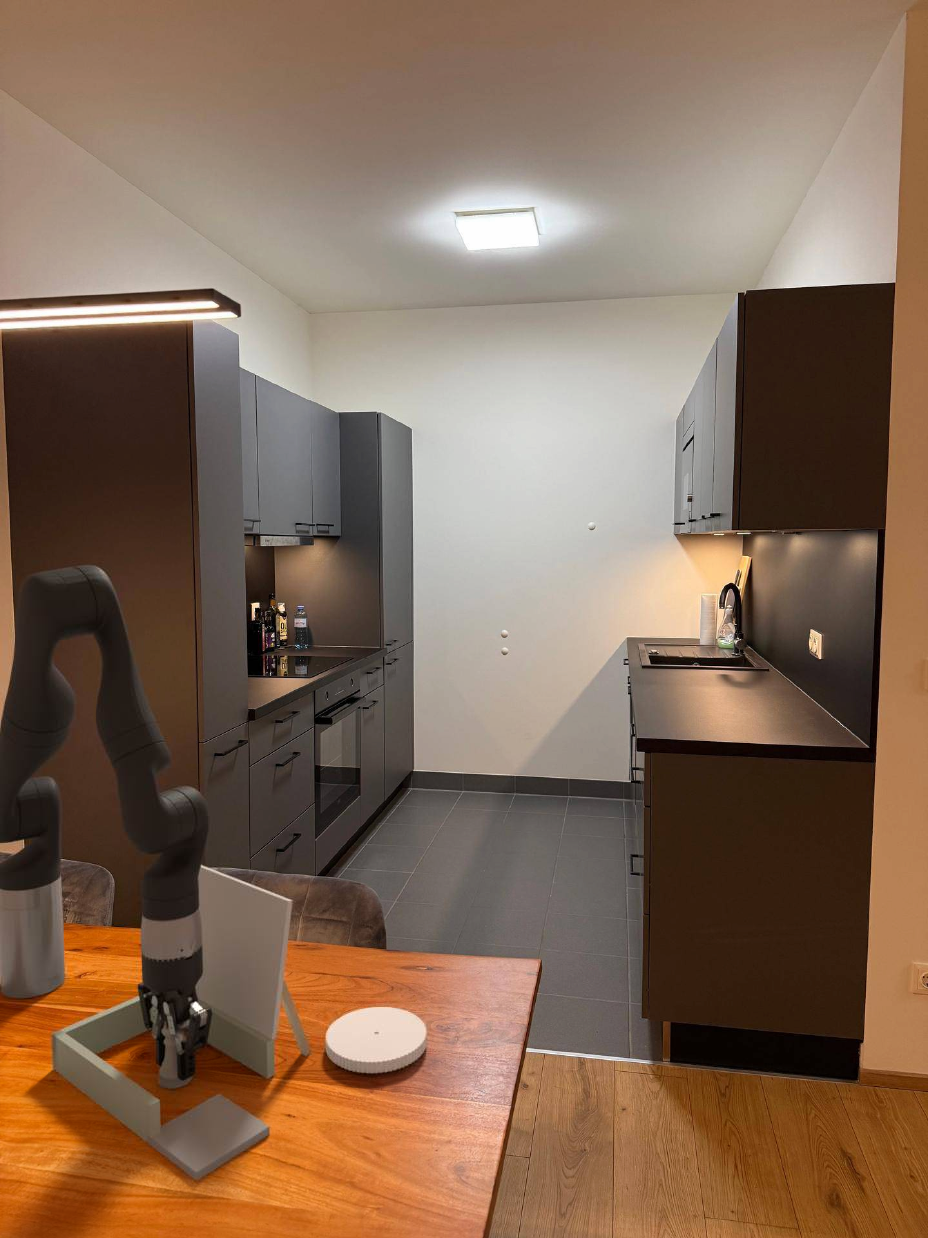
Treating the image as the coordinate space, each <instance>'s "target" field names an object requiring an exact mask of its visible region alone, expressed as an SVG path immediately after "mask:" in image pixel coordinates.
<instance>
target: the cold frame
mask: <svg viewBox="0 0 928 1238" xmlns="http://www.w3.org/2000/svg"><path fill="white" fill-rule="evenodd" d="M198 1004H199V1005H200V1006H201V1007H202V1008H203V1009H205V1008H207V1007H210V1008H211V1010H212V1018H211V1024H210V1029H209V1035H208V1040H207V1044H209V1045H211V1046H212V1047H214V1048H216V1049H217V1050H219V1051H221V1052H222V1053H224V1054H225V1055H227V1056H229V1057H230V1058H232V1059H233V1060H235V1061H237V1062H238V1063H241V1064H242V1065H244V1066H245V1067H246V1068H248V1069H250V1070H252V1071H254V1072H255V1073H257V1074H259V1075H261V1076H262V1077H264V1078H265V1079H268V1080H269V1079H270V1078H271V1077H273V1076H275V1075H276V1069H275V1068H276V1064H275V1063H276V1062H275V1058H276V1057H275V1055H276V1054H275V1053H276V1052H275V1039H270V1038H268V1037H267V1036H265V1035H263V1034H261V1033H259V1032H258V1031H256V1030H254V1029H252V1028H250V1027H248V1026H247V1025H245V1024H243V1023H241V1022H239V1021H238V1020H236V1019H234V1018H232V1017H230V1016H229V1015H227V1014H225V1013H223V1012H221V1011H220V1010H218V1009H216V1008H214V1007H212V1006H210V1005H209V1004H207V1003H205V1002H203V1001H201V1000H200V999H198ZM281 1004H282V1006H283V1009H284V1012H285V1014H286V1017H287V1020H288V1022H289V1025H290V1028H291V1030H292V1033H293V1036H294V1038H295V1041H296V1044H297V1046H298V1048H299V1051H300V1053H301V1054H302V1055H303V1056H305V1057H307V1056H309V1054H310V1053H312V1050H311V1049H312V1048H311V1047H310V1044H309V1041H308V1038H307V1037H306V1036H307V1035H306V1033H305V1031H304V1028H303V1025H302V1022H301V1020H300V1017H299V1015H298V1012H297V1009H296V1007H295V1004H294V1002H293V998H292V996H291V994H290V991H289V988H288V985H287V983H286V979H283V987H282V996H281ZM151 1013H152V1008H151V1009H150V1015H151ZM188 1020H189V1019H188ZM188 1020H187V1021H188ZM187 1021H185V1024H186V1023H188V1022H187ZM150 1030H152V1029H151V1028H150V1029H146V1028H145V1025H144V1020H143V1015H142V1009H141V1004H140V999H139V995H138V996H135V997H134V998H131V999H128V1000H126V1001H124V1002H121V1003H120V1004H117V1005H115V1006H112V1007H111V1008H108V1009H105V1010H103V1011H101V1012H98V1013H95V1014H94V1015H92V1016H91V1015H90V1016H89V1017H87V1018H84V1019H82V1020H79V1021H77V1022H75V1023H73V1024H71V1025H68V1026H66V1027H64V1028H63V1027H62V1028H61V1029H58V1030H57V1031H54V1032H52V1033H51V1051H52V1052H51V1055H52V1070H53V1069H54V1070H53V1071H55V1070H56V1071H57V1072H58V1073H59V1074H58V1073H57V1072H56V1071H55V1072H56V1073H57V1074H58V1075H60V1074H61V1075H62V1076H63V1077H62V1076H61V1075H60V1076H61V1077H62V1078H64V1079H65V1080H66V1079H67V1080H68V1081H67V1080H66V1081H67V1082H69V1083H70V1082H71V1083H70V1084H71V1085H73V1086H74V1087H75V1086H76V1087H77V1089H78V1090H79V1091H80V1092H82V1093H83V1094H84V1093H85V1094H86V1096H87V1095H88V1096H87V1097H88V1098H89V1097H90V1098H89V1099H90V1100H92V1099H93V1100H94V1101H93V1100H92V1101H93V1102H94V1103H96V1104H97V1105H98V1106H100V1107H101V1108H102V1109H103V1110H104V1111H106V1112H107V1113H109V1114H110V1115H112V1117H114V1118H115V1119H116V1120H118V1121H119V1122H121V1124H123V1125H124V1126H126V1128H128V1129H129V1130H130V1131H132V1132H133V1133H134V1134H136V1135H137V1136H138V1137H139V1138H140V1139H142V1140H143V1141H144V1142H146V1143H147V1141H148V1140H147V1135H148V1136H149V1137H151V1138H152V1137H154V1136H156V1135H158V1134H159V1133H161V1126H162V1125H161V1100H160V1099H158V1098H157V1097H155V1096H154V1095H153V1094H152V1093H150V1092H148V1091H147V1090H145V1088H143V1087H142V1086H140V1084H138V1083H136V1082H135V1081H133V1079H132V1080H131V1079H130V1078H129V1077H127V1076H126V1075H125V1074H123V1073H122V1072H121V1071H120V1070H118V1069H116V1068H115V1067H114V1066H112V1065H111V1064H109V1063H108V1062H106V1061H105V1060H104V1059H102V1058H101V1057H99V1056H98V1054H100V1053H99V1052H101V1053H102V1052H105V1051H107V1050H109V1049H112V1048H113V1047H115V1045H116V1046H117V1044H118V1045H120V1044H122V1043H124V1042H126V1041H128V1040H131V1039H133V1038H134V1037H137V1036H139V1035H141V1034H143V1033H145V1032H147V1031H150ZM132 1037H133V1038H132ZM123 1041H124V1042H123ZM121 1042H122V1043H121ZM112 1046H113V1047H112ZM108 1048H109V1049H108ZM104 1050H105V1051H104ZM97 1053H98V1054H97ZM95 1054H96V1055H95ZM76 1087H75V1088H76ZM85 1094H84V1095H85Z"/></svg>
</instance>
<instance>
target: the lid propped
mask: <svg viewBox="0 0 928 1238" xmlns="http://www.w3.org/2000/svg"><path fill="white" fill-rule="evenodd" d="M198 882H199V908H200V915H201V921H202V947H203V974H202V976H201V978H200V979H199V981H198V982H197V984H196V986H195V988H196V993H197V996H198V999H200V1000H201V1001H203V1002H205V1003H207V1004H209V1005H210V1006H212V1007H214V1008H216V1009H218V1010H220V1011H221V1012H223V1013H225V1014H227V1015H229V1016H230V1017H232V1018H234V1019H236V1020H238V1021H239V1022H241V1023H243V1024H245V1025H247V1026H248V1027H250V1028H252V1029H254V1030H256V1031H258V1032H259V1033H261V1034H263V1035H265V1036H267V1037H268V1038H270V1039H274V1040H275V1039H277V1038H278V1037H277V1036H278V1029H279V1020H280V1013H281V1012H280V1011H281V1004H282V1002H281V996H282V987H283V979H284V978H285V977H284V975H285V971H286V969H285V968H286V960H287V959H286V958H287V954H288V944H289V943H288V942H289V934H290V929H291V928H290V926H291V919H292V918H291V916H292V911H293V910H292V909H293V899H290V898H287V897H285V896H282V895H280V894H277V893H275V892H272V891H269V890H268V889H267V890H266V889H264V888H262V887H259V886H256V885H254V884H252V883H249V882H247V881H243V880H242V879H239V878H236V877H233V876H230V875H228V874H226V873H223V872H220V871H218V870H215V869H213V868H210V867H208V866H205V865H203V864H201V867H200V871H199V875H198ZM284 980H285V979H284Z"/></svg>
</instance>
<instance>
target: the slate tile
mask: <svg viewBox="0 0 928 1238" xmlns="http://www.w3.org/2000/svg"><path fill="white" fill-rule="evenodd" d="M270 1134H271V1133H270V1125H268V1124H266V1123H265V1122H263V1121H262V1120H261V1119H259V1118H258V1117H255V1116H254V1115H253V1114H252V1113H250V1112H248V1111H247V1110H245V1109H243V1108H242V1107H241V1106H239V1105H238V1104H236V1103H235V1102H233V1101H231V1100H230V1099H228V1098H227V1097H225V1096H223V1095H222V1094H220V1093H218V1094H216V1095H214V1096H212V1097H210V1098H208V1099H207V1100H205V1101H203V1102H201V1103H200V1104H198V1105H196V1106H195V1107H193V1108H191V1109H189V1110H188V1111H186V1112H184V1113H181V1114H180V1115H179V1116H176V1117H175V1118H173V1119H171V1120H169V1121H168V1122H166V1123H164V1124H162V1125H161V1133H159V1134H158V1135H156V1136H154V1137H152V1138H151V1137H149V1136H148V1135H147V1140H148V1141H147V1142H146V1143H147V1144H149V1145H150V1146H151V1147H152V1148H154V1149H155V1150H156V1151H157V1152H159V1153H160V1154H161V1155H163V1156H164V1157H165V1158H166V1159H168V1160H169V1161H170V1162H172V1163H173V1164H174V1165H175V1166H177V1167H178V1168H179V1169H181V1170H182V1171H183V1172H184V1173H186V1174H187V1175H188V1176H189V1177H191V1178H192V1179H194V1180H195V1181H196V1182H197V1181H199V1180H201V1179H202V1178H204V1177H205V1176H207V1175H209V1174H210V1173H212V1172H213V1171H215V1170H216V1169H218V1168H219V1167H221V1166H222V1165H224V1164H225V1163H227V1162H229V1161H230V1160H232V1159H233V1158H235V1157H236V1156H238V1155H240V1154H241V1153H243V1152H244V1151H246V1150H247V1149H249V1148H251V1147H253V1146H254V1145H255V1144H257V1143H259V1142H260V1141H262V1140H263V1139H264V1138H266V1137H267V1136H269V1135H270Z"/></svg>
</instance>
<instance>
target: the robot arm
mask: <svg viewBox="0 0 928 1238" xmlns="http://www.w3.org/2000/svg"><path fill="white" fill-rule="evenodd" d="M15 614H16V615H15V629H14V630H15V631H14V647H13V657H12V665H11V671H10V676H9V682H8V686H7V687H8V688H7V691H6V696H5V700H4V704H3V710H2V715H1V719H0V844H7V843H13V842H18V841H19V842H20V841H24V840H28V839H31V840H30V841H29V842H28V843H27V844H26V845H25V846H24V847H23V848H22V849H20V850H19V851H18V852H16V853H14V854H13V855H11V856H9V857H7V858H6V859H4V860H3V861H2V862H0V992H1V994H2V995H3V996H4V997H7V998H10V999H11V998H12V999H28V998H33V997H34V998H35V997H38V996H43V995H45V994H48V993H50V992H52V991H55V990H56V989H58V988H59V987H60V986H62V985H63V983H65V980H66V972H65V971H66V968H65V967H66V965H65V941H64V939H65V937H64V936H65V935H64V920H63V919H64V918H63V917H64V915H63V912H64V911H63V894H62V872H61V871H62V870H61V866H62V865H61V864H62V796H61V793H60V792H61V791H60V789H59V786H58V783H57V781H56V780H55V779H54V778H52V777H51V776H46V775H45V776H37V777H32V776H33V775H34V774H35V773H37V772H38V771H39V770H40V769H41V768H43V767H44V765H46V764H47V763H48V762H49V761H50V760H51V759H52V758H54V756H56V755H57V754H58V752H60V750H61V749H62V748H63V747H64V745H65V744H66V743H67V740H68V739H69V735H70V733H71V728H72V725H73V723H74V722H73V721H74V717H75V713H76V708H77V700H76V695H75V692H74V690H73V688H72V687H71V685H70V683H69V682H68V680H67V678H66V677H64V676H63V674H62V673H61V672H60V670H58V668H57V667H56V666H55V664H54V662H53V660H54V659H53V657H54V652H55V648H56V647H57V645H58V644H59V643H60V642H61V641H65V640H69V639H72V638H78V637H82V636H87V635H92V636H93V638H94V640H95V641H96V642H95V643H96V644H97V646H98V648H99V653H100V657H101V677H100V683H99V684H100V685H99V689H98V690H99V691H98V694H97V701H96V707H95V708H96V709H95V723H96V730H97V732H98V733H97V734H98V736H99V739H100V742H101V743H102V746H103V748H104V750H105V751H104V752H105V753H106V755H107V757H108V759H109V762H110V764H111V766H112V768H113V770H114V773H115V777H116V784H117V793H118V799H119V805H120V806H119V807H120V814H121V820H122V822H121V823H122V826H123V830H124V832H125V835H126V838H127V839H128V841H129V842H130V844H132V845H133V847H135V849H137V850H138V851H139V852H141V853H144V854H146V855H157V854H160V855H159V856H158V857H157V859H156V860H155V861H154V862H153V863H152V864H151V865H149V866H148V867H147V868H146V869H145V871H144V872H143V874H142V877H141V882H140V885H141V887H140V889H141V890H140V891H141V892H140V893H141V911H142V913H141V924H140V925H141V926H140V948H141V949H140V951H141V980H142V981H141V982H140V983H138V984H137V985H136V986H137V992H138V996H139V999H140V1004H141V1009H142V1015H143V1020H144V1025H145V1028H146V1029H150V1028H151V1029H150V1030H151V1035H152V1037H153V1038H154V1040H155V1060H156V1062H155V1064H156V1065H158V1066H159V1067H161V1066H162V1063H163V1061H164V1058H165V1044H164V1040H165V1036H164V1035H163V1034H162V1029H163V1027H164V1024H165V1021H166V1020H167V1021H168V1024H169V1029H170V1034H171V1036H174V1037H175V1041H176V1046H177V1051H178V1052H177V1075H178V1079H180V1080H181V1081H184V1080H186V1079H188V1078H190V1077H192V1076H193V1077H194V1075H195V1074H196V1070H197V1067H196V1064H197V1061H196V1058H197V1057H196V1052H198V1051H200V1050H202V1049H203V1048H206V1047H207V1046H208V1043H207V1040H208V1035H209V1029H210V1024H211V1018H212V1010H211V1008H210V1007H207V1008H205V1009H203V1008H202V1007H201V1006H200V1005H199V1004H198V996H197V993H196V988H195V986H196V984H197V982H198V981H199V979H200V978H201V976H202V974H203V947H202V921H201V915H200V908H199V882H198V875H199V871H200V867H201V865H203V859H204V853H205V851H206V850H205V849H206V845H207V841H208V837H209V830H210V821H211V820H210V812H209V806H208V804H207V802H206V799H205V798H204V796H203V795H202V794H201V792H200V791H199V790H198V789H197V788H195V787H192V786H189V785H187V786H186V785H183V786H182V785H181V786H177V787H174V788H171V789H168V790H166V791H162V792H159V787H158V775H160V774H161V773H162V772H164V771H165V770H167V769H168V768H169V766H170V765H171V762H172V755H171V752H170V750H169V747H168V745H167V743H166V740H165V737H164V736H163V734H162V732H161V729H160V727H159V725H158V722H157V720H156V718H155V716H154V713H153V712H152V709H151V706H150V704H149V701H148V698H147V697H146V693H145V691H144V688H143V685H142V681H141V677H140V674H139V670H138V666H137V662H136V658H135V654H134V650H133V645H132V643H131V639H130V636H129V632H128V629H127V625H126V621H125V618H124V615H123V611H122V607H121V604H120V601H119V598H118V595H117V592H116V589H115V587H114V585H113V583H112V581H111V579H110V577H109V576H108V574H107V573H106V572H105V571H104V570H103V569H102V568H100V567H98V566H96V565H94V564H93V565H92V564H91V565H90V564H85V565H83V564H82V565H76V566H75V565H74V566H69V567H64V568H62V567H61V568H57V569H51V570H50V569H49V570H45V571H39V572H36V573H33V574H30V575H29V576H27V577H26V578H25V579H24V580H23V582H22V583H21V585H20V588H19V592H18V596H17V604H16V613H15ZM151 1008H152V1013H151V1015H150V1009H151ZM188 1019H189V1020H188ZM187 1020H188V1021H187ZM185 1021H187V1022H188V1023H186V1024H184V1025H182V1026H180V1027H178V1026H177V1025H178V1024H181V1023H183V1022H185ZM185 1034H186V1041H185V1042H184V1039H183V1035H184V1036H185Z"/></svg>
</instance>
